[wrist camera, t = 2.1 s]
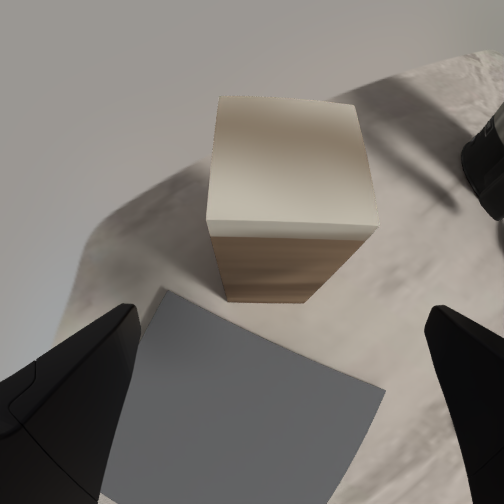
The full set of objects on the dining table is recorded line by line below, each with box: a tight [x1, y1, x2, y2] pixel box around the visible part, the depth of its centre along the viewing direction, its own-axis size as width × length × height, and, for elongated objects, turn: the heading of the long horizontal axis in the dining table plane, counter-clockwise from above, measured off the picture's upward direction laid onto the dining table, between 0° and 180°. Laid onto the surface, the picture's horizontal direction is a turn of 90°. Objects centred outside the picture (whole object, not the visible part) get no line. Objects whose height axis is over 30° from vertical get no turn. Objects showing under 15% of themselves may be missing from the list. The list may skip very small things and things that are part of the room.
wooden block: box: [206, 96, 380, 303], centre depth 15 cm, size 5×5×12 cm
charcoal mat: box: [100, 290, 386, 504], centre depth 17 cm, size 16×16×1 cm
